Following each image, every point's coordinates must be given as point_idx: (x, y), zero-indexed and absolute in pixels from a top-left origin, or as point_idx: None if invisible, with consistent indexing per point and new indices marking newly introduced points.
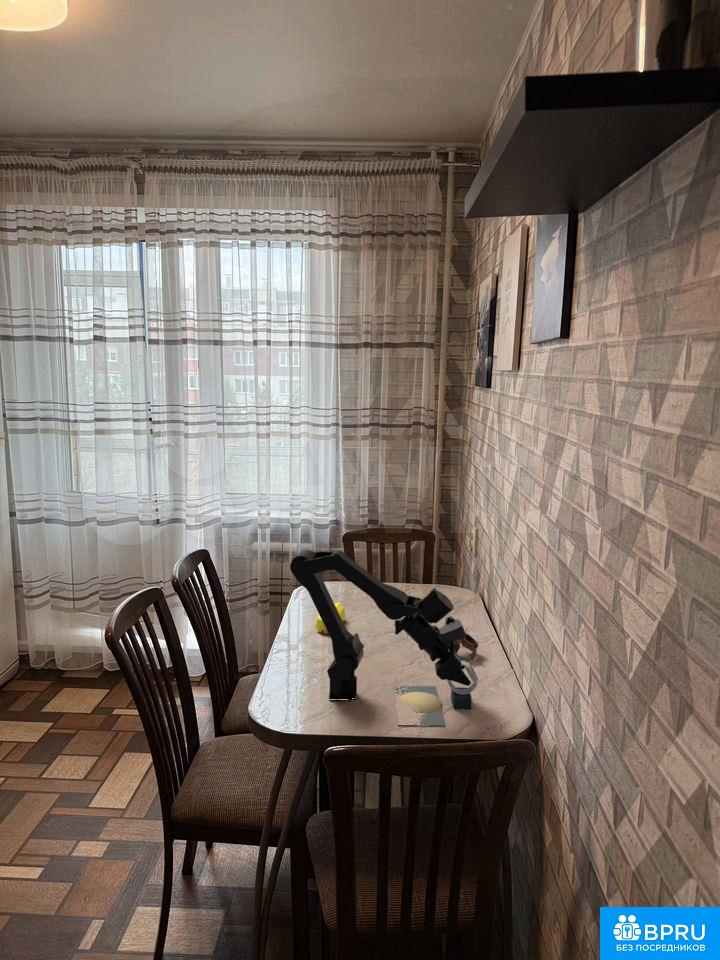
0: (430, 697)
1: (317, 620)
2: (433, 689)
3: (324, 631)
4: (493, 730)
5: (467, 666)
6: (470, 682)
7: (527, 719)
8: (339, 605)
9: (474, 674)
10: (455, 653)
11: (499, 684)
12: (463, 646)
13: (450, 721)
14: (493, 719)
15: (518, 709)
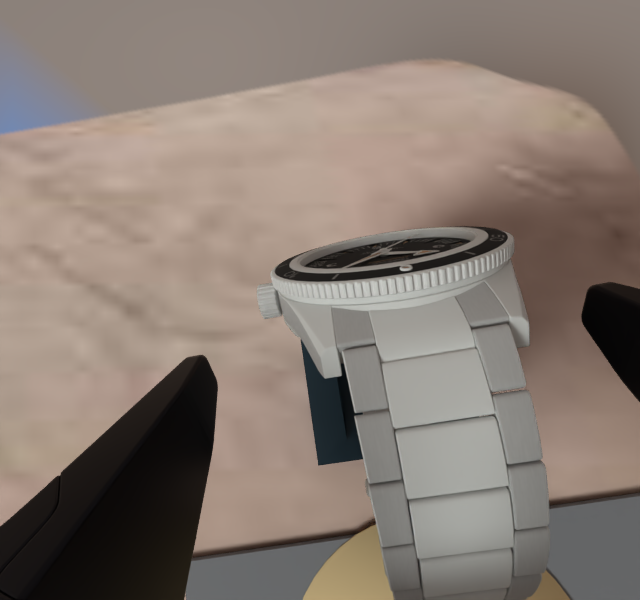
0: (354, 598)
1: None
2: (231, 575)
3: None
4: (632, 210)
5: (512, 302)
6: (620, 287)
7: (462, 69)
8: None
9: (509, 233)
10: (79, 537)
11: (123, 188)
12: None
13: (618, 447)
14: (511, 212)
15: (372, 105)
